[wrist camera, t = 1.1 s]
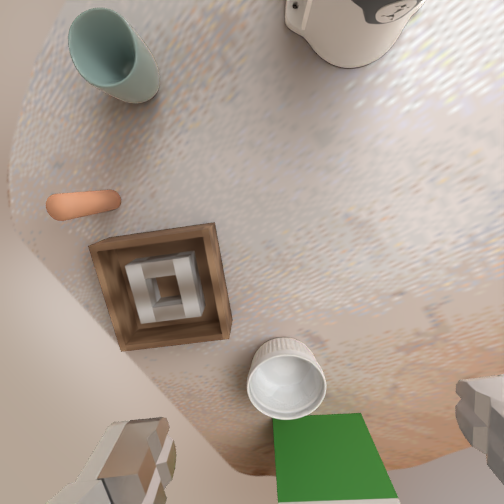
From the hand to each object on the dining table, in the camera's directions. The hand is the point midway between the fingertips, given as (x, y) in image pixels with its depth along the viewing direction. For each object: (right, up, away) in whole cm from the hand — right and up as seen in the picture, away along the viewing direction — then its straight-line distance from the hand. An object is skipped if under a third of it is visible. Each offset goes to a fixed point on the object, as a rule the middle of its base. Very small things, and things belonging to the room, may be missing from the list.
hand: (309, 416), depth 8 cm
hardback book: (+12, -32, +48) cm, 59 cm away
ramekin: (+4, -16, +44) cm, 47 cm away
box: (-15, 0, +40) cm, 43 cm away
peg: (-24, +13, +36) cm, 46 cm away
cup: (-18, +30, +32) cm, 47 cm away
